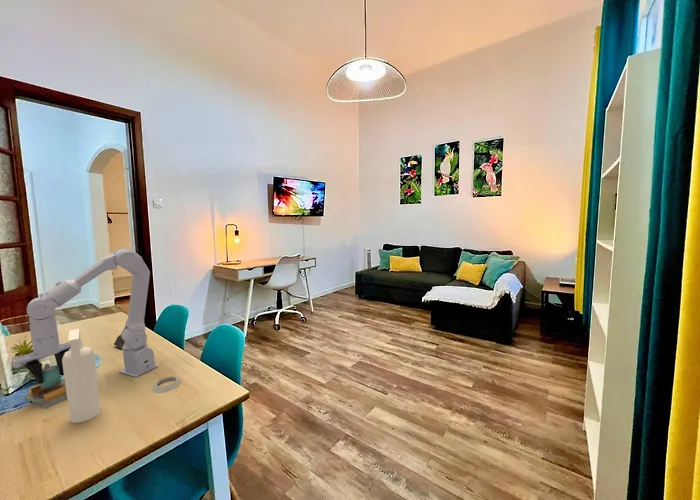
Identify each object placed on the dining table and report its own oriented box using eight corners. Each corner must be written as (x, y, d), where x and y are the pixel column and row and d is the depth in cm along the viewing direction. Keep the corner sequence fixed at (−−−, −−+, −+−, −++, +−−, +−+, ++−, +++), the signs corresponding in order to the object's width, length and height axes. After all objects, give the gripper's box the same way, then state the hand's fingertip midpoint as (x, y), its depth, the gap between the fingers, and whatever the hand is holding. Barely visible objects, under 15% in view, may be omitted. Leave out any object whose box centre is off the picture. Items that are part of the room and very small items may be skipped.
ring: (155, 382, 101) (155, 377, 101) (183, 377, 104) (183, 372, 104) (148, 396, 93) (147, 391, 93) (179, 390, 96) (178, 385, 96)
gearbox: (90, 388, 97) (89, 378, 97) (45, 408, 87) (44, 397, 87) (70, 380, 102) (68, 371, 102) (25, 399, 92) (23, 388, 92)
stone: (111, 352, 123) (109, 340, 123) (118, 340, 135) (117, 329, 134) (131, 349, 126) (129, 337, 126) (137, 337, 138) (135, 326, 138)
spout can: (63, 382, 94) (60, 363, 93) (44, 389, 90) (40, 370, 89) (58, 378, 96) (55, 360, 95) (38, 386, 92) (35, 366, 92)
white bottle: (103, 397, 92) (90, 320, 88) (102, 419, 82) (87, 334, 78) (73, 407, 88) (58, 326, 84) (69, 431, 78) (51, 342, 74)
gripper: (67, 326, 99) (72, 365, 101) (4, 344, 86) (11, 388, 88) (79, 329, 97) (84, 369, 98) (16, 348, 83) (23, 393, 85)
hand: (51, 378), depth 93 cm, fingers closed on spout can, 4 cm apart
